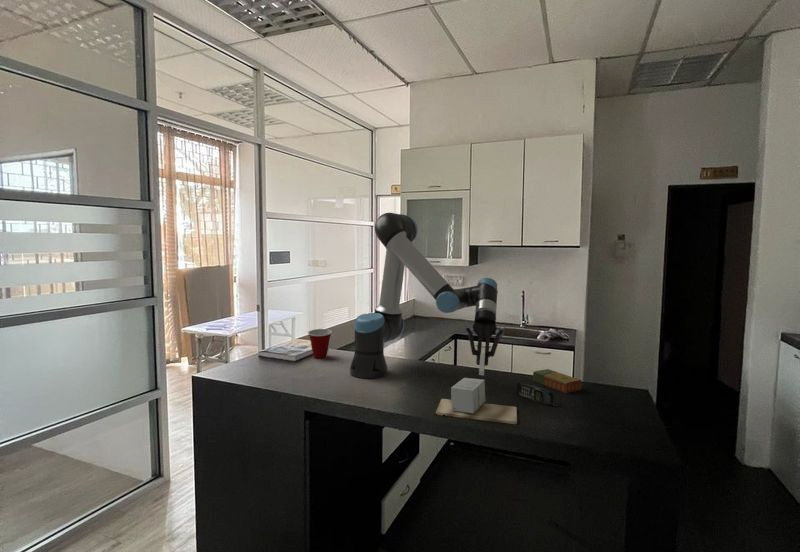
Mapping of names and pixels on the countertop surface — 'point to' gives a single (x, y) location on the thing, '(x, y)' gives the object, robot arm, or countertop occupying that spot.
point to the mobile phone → (535, 393)
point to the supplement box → (468, 395)
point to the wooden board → (481, 412)
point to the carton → (557, 380)
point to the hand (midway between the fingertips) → (481, 373)
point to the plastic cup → (320, 342)
